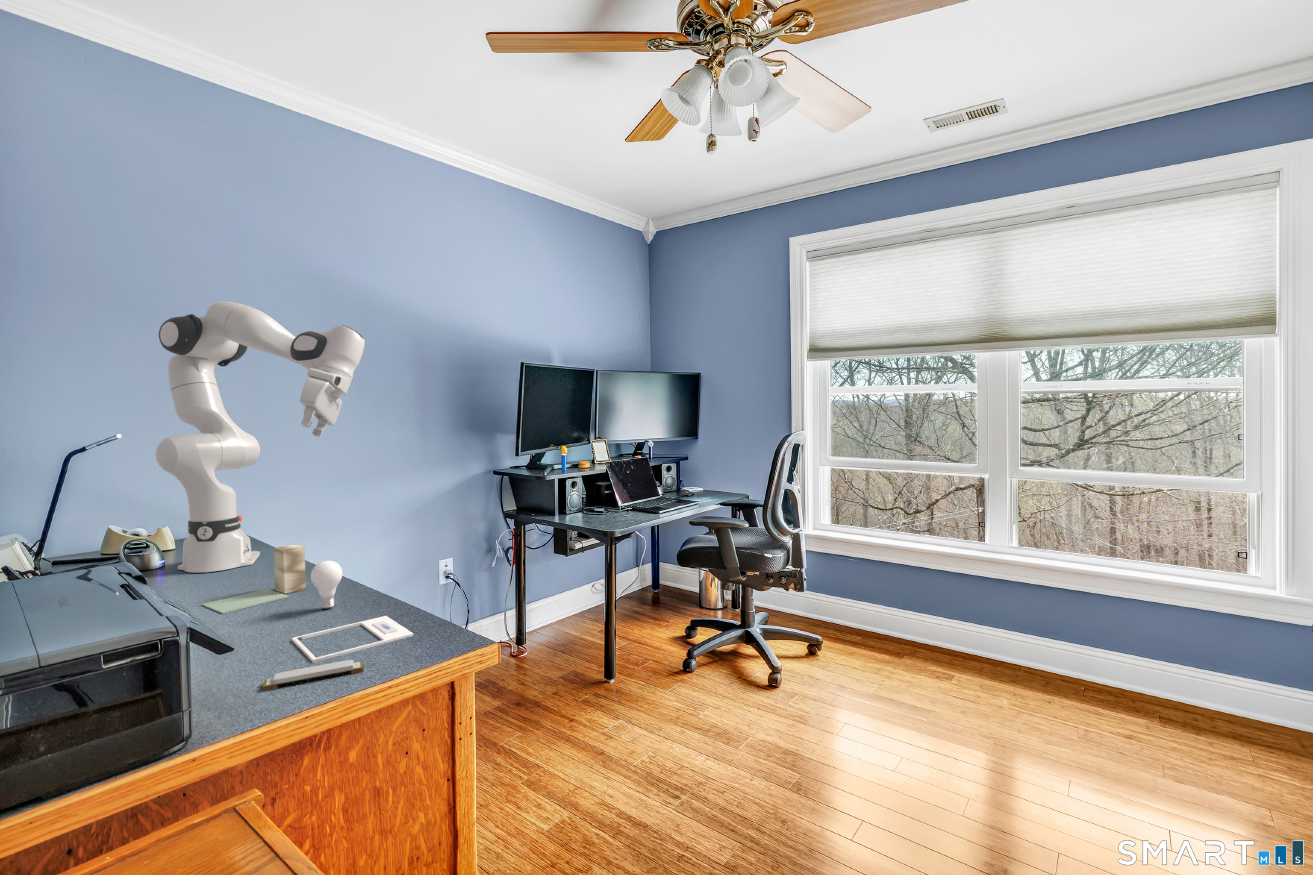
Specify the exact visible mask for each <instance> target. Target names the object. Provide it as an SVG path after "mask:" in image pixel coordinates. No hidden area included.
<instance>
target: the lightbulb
mask: <svg viewBox="0 0 1313 875" xmlns="http://www.w3.org/2000/svg"><path fill="white" fill-rule="evenodd" d="M342 578H343V569H342V567H341V565H340V564H339V563H338V562H336V561H333V560H322V561H320V562H317V564H315V565H314V567H313V568H312V570H311V572H310V580H311V583H312V584H313V585H314V586H315V588H316V589H317V591H318V594H319V596H320V600H321V601H320V602H321V604H320V606H321V608H322V609H326V610H329V609H332V607H334V606H335V594H336V590H337V587H338V585H339V584H340V582H341V580H342Z"/></svg>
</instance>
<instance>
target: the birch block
mask: <svg viewBox="0 0 1313 875" xmlns="http://www.w3.org/2000/svg"><path fill="white" fill-rule="evenodd" d="M272 550H273V566H274V567H273V570H274V574H273V575H274V591H275V592H279V593H282V594H285V595H290V594H294V593H296V592H297V593H298V592H302V591H305V589H306V590H307V580H306V579H307V578H306V550H305V546H302V545H300V544H290V545H289V544H288V545H283V546H277V547H273V549H272ZM301 590H302V591H301ZM293 592H294V593H293ZM289 593H290V594H289Z"/></svg>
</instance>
